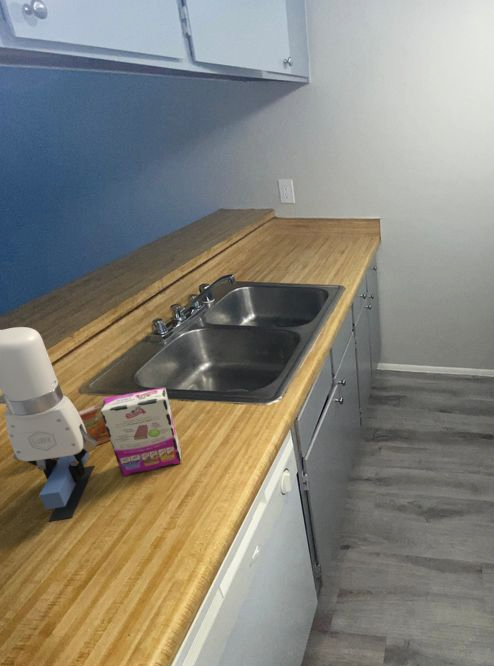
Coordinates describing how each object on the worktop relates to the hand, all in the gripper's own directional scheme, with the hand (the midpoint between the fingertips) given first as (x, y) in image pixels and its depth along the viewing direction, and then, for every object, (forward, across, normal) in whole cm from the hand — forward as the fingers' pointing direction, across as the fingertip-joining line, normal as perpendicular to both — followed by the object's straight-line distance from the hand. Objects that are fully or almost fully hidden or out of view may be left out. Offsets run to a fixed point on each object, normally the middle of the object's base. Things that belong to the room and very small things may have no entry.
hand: (68, 478), depth 89 cm
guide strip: (+4, 0, 0) cm, 4 cm away
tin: (+4, 0, +16) cm, 16 cm away
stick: (+1, 0, 0) cm, 1 cm away
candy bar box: (+4, +13, +6) cm, 15 cm away
